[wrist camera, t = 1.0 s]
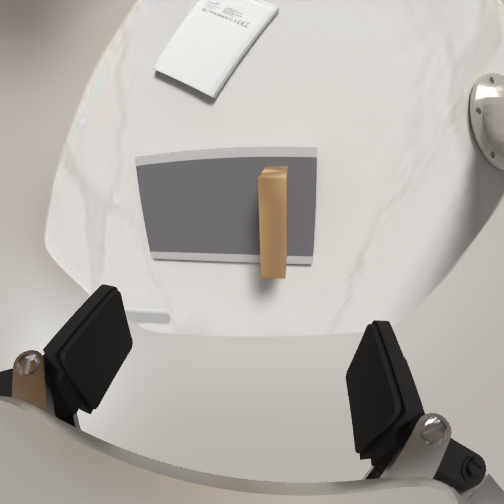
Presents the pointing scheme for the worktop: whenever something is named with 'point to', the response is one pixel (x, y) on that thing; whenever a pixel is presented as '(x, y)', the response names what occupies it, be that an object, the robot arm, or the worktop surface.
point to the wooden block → (273, 220)
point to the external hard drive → (214, 42)
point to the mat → (223, 202)
